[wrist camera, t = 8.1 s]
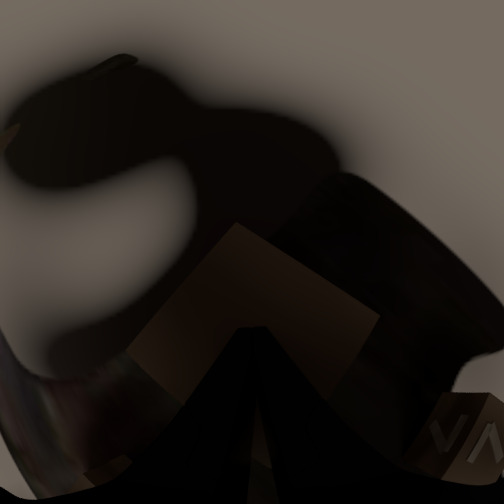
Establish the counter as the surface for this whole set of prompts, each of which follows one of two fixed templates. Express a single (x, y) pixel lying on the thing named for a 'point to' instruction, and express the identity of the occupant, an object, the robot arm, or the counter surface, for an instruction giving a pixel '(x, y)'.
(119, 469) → the walnut cube
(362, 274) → the counter surface
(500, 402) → the walnut cube
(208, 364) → the plain walnut block
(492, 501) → the robot arm
